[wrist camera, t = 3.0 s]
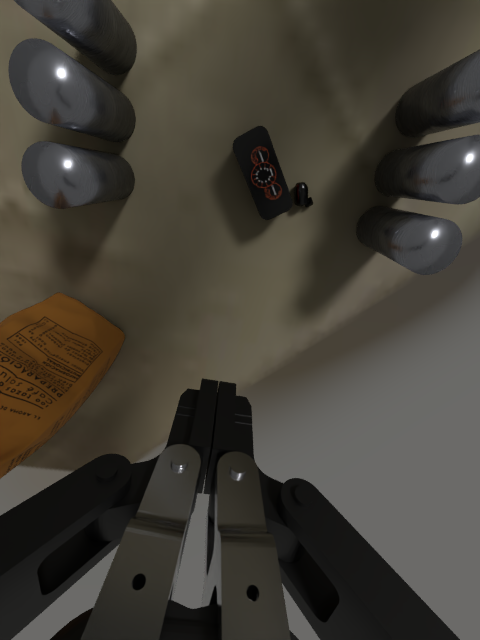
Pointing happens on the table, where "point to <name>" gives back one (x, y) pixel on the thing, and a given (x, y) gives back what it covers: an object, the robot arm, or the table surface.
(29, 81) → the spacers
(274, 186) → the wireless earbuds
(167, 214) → the table surface
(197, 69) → the table surface
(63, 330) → the coffee package
